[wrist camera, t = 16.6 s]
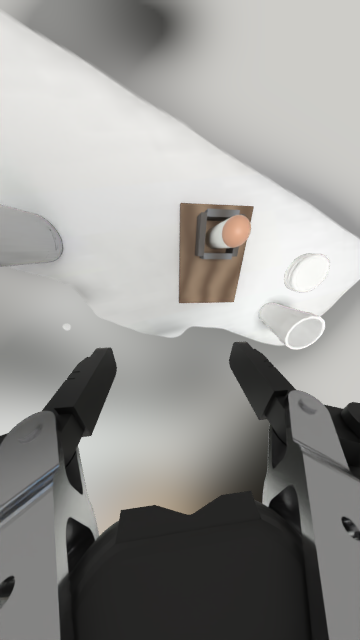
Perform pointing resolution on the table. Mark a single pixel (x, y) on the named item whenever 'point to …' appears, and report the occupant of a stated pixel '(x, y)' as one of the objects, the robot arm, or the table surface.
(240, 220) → the orange-capped post
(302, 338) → the foam cup
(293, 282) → the coaster
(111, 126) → the table surface
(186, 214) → the jig board
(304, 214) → the table surface
